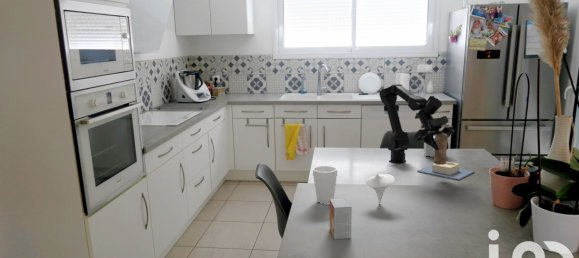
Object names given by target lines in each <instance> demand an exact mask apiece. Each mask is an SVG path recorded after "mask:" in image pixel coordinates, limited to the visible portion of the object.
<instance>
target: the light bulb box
mask: <svg viewBox="0 0 579 258" xmlns="http://www.w3.org/2000/svg"><path fill="white" fill-rule="evenodd" d="M433 137H434V140H435V135H434V136H433ZM434 152H435V149H434V148H432V147H431V146H430V145H428V144H426V143H425V142H423V155H424V157H426V156H430V157H429V158H434Z"/></svg>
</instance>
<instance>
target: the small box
mask: <svg viewBox="0 0 579 258" xmlns="http://www.w3.org/2000/svg"><path fill="white" fill-rule="evenodd" d="M352 219H353V218H352V205H351V204H350V203H349V201H348V200H347V198H346V197H345V198H342V197H341V198H334V199H330V204H329V230H330V232H331V234H332V237H333V240H343V239H346V238H347V239H352Z"/></svg>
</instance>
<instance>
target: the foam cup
mask: <svg viewBox="0 0 579 258" xmlns="http://www.w3.org/2000/svg"><path fill="white" fill-rule="evenodd" d="M312 177H313V182H314V183H313V184H314V187H315V188H314V189H315V195H316V197H315V198H316V202H317V201H318V202H321V203H330V199H335V190H336V184H337V178H338V167H336V166H332V165H318V166H314V167H313V168H312ZM318 202H317V203H318Z"/></svg>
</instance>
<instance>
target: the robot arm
mask: <svg viewBox="0 0 579 258" xmlns="http://www.w3.org/2000/svg"><path fill="white" fill-rule="evenodd" d="M378 96H379V98H380V101H381V103H382V104H383V105H384V106H385V108H386V112H387V115H388V119H389V122H390V123H389V124H390V128H391V132H392V133H391V137H390V143H388V145H387V150H388V151H390V160H388V162H389V163H395V164H403V163H406V162H407V160H406V151H408V148H409V145H410V137H409V134H408V132H407V131H404V130H403V127H402V123H401V120H400V116H399V112H398V108H397V104H396V103H397V101H398V97H400V98H401V99H402V100H404V101H405V102H406V103H407V106H408V108H409V109H410V111H413V112H414V111H415V112H416V111H418V112H416V113H415V116H414V118H415V119H418V120H419V122H420V124H421V126H420V129H418V130H417V131H416V132H415V134H414V135H413V139H414V141H415V142H422V143H424V142H425V143H426V144H428V145H430V146H431V147H432V148H434V149H435V150H437V151H438V150H439V149H438V146H437V144H436V142H435V140H434V137H433V136H434V135H435V134H439V133H441V134H447V150H448V149H449V141H448V138H450V136H452V134H453V133H454V132H455V131H456V130H455V128H454V126H452V125H450V126H445V125H447V123H449V118H448V117H447V115H443V116H441V117H436V118H434V117H433V115H435V114H436V113H437V112H438V111H439V109H441V107H442V105H443V103H442V101H441V100H440V99H438V98H437V97H435V96H434V95H430V96H429V97H428V99H426V97H423V96H421V95H420V96H419V95H417V94H416V95H415V94H414V93H412V92H411V91H409V90H408V89H406V87H404V86H403V85H402V84H400V83H398V84H395V83H394V84H392V85H390V86H388V87H386V88H382V89H381V90H380V92H379V95H378ZM442 126H444V127H442ZM441 129H442V130H441Z"/></svg>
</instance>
